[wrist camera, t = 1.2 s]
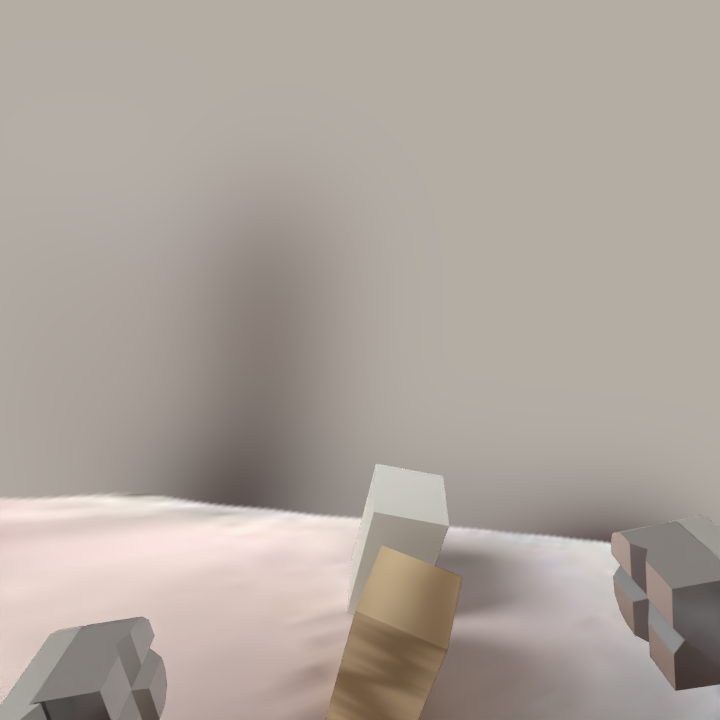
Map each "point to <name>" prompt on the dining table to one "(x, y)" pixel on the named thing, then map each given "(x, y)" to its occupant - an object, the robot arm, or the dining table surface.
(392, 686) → the oak block
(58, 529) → the dining table surface
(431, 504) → the grey block
